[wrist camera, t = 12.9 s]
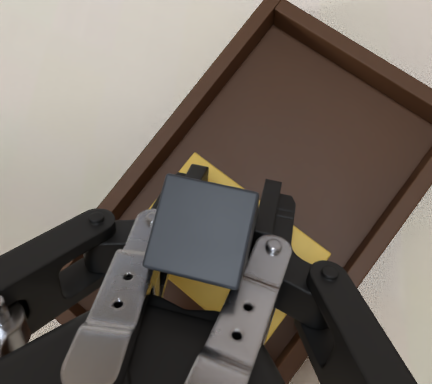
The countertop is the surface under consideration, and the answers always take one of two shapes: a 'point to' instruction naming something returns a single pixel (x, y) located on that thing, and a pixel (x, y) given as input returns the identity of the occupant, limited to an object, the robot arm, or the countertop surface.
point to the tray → (297, 144)
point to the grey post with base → (211, 236)
